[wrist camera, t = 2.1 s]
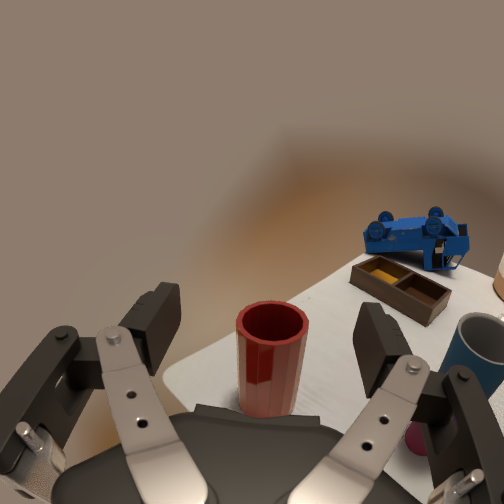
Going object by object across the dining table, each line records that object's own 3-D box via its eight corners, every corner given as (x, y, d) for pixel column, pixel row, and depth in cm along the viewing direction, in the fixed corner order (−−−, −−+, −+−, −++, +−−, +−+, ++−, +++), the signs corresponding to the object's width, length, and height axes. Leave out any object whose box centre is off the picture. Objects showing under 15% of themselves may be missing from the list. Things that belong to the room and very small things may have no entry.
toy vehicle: (373, 212, 73) (380, 255, 75) (360, 223, 64) (368, 273, 67) (464, 203, 56) (468, 251, 59) (467, 214, 48) (469, 270, 50)
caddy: (376, 269, 59) (379, 254, 57) (446, 306, 45) (452, 290, 44) (349, 282, 54) (352, 266, 53) (426, 327, 41) (432, 309, 39)
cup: (457, 431, 23) (525, 332, 16) (432, 473, 19) (516, 377, 12) (416, 406, 27) (469, 303, 21) (386, 442, 24) (447, 339, 17)
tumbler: (305, 406, 29) (323, 326, 24) (259, 433, 26) (263, 355, 21) (273, 374, 34) (279, 293, 29) (228, 395, 31) (223, 313, 26)
